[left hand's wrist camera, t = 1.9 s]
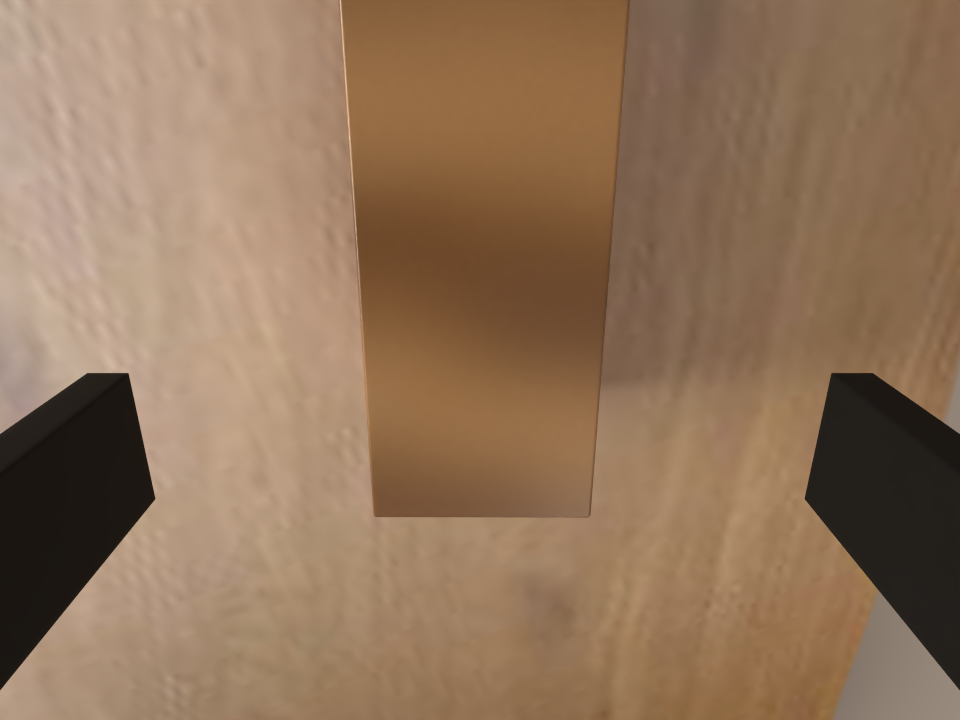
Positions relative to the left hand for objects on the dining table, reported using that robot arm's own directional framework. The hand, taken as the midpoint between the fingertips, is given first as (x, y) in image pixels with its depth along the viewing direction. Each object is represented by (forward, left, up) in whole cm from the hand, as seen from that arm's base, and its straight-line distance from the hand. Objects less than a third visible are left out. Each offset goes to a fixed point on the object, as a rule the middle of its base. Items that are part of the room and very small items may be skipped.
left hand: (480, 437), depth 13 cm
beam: (+24, +5, -12) cm, 27 cm away
